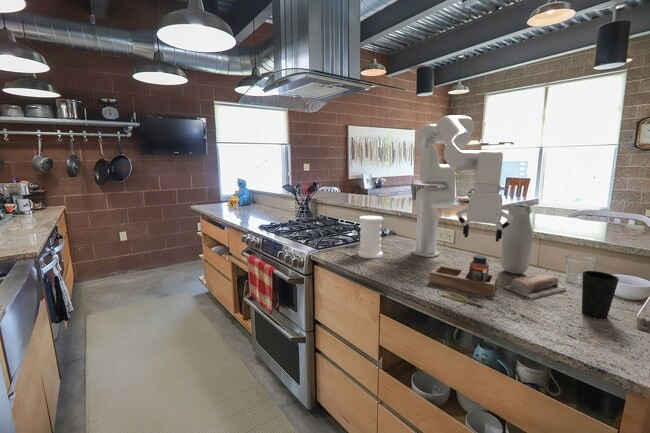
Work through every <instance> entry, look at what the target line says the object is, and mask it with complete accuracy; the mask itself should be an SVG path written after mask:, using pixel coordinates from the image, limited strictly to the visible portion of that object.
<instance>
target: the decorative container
mask: <svg viewBox="0 0 650 433" xmlns="http://www.w3.org/2000/svg"><path fill="white" fill-rule="evenodd" d="M359 221H360V224H359V226H360V227H359V228H360V232H359V234H360V238H359V242H360V243H359V250H358V251H357V255H358V256H359V257H361V258H364V259H379V258H382V257H383V255H384V254H383V253H384V252H383V251H382V250H381V249H382V244H381V242H382V233H383V231H382V227H383V224H382V222H383V221H384V217H383V216H381V215H360V216H359Z"/></svg>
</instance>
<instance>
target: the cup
mask: <svg viewBox="0 0 650 433" xmlns="http://www.w3.org/2000/svg"><path fill="white" fill-rule="evenodd" d="M619 281H620V279H619V277H618V276H616V275H613V274H610V273H608V272H607V273H606V272H602V271H596V270H595V271H594V270H586V271H583V272H582V290H581V291H582V293H581V313H583V314H584V315H583V314H582V315H583V316H585V315H586V316H585V317H587V316H589V317H588V318H590V317H592V318H591V319H593V318H596V319H595V320H597V319H606V320H607V319H608V316H609V313H610V309H611V306H612V302H613V300H614V296H615V293H616V290H617V286H618V284H619Z"/></svg>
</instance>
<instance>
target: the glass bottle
mask: <svg viewBox="0 0 650 433" xmlns="http://www.w3.org/2000/svg"><path fill="white" fill-rule="evenodd" d="M531 211H532V209H531V206H530V205H529V204H527V203H525V202H513V203H511V204H510V205H509V207H508V213H507V214H508V215H510V216H512V217H513V220H512V222H511V223H510V224H509V225H508V226H507V227H506V228H504V229H503V230H502V237H501V247H500V248H501V251H500V265H501V268H502V269H503V270H504V271H505V272H507V273H508V274H509V273H510V274H513V275H521V274H524V273H525V272H527V270H528V269H529V267H530V261H531V255H532V248H533V247H532V246H533V238H534V234H533V233H534V232H533V227H532V223H531V216H530V215H531V213H532V212H531Z"/></svg>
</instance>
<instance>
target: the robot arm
mask: <svg viewBox="0 0 650 433" xmlns="http://www.w3.org/2000/svg"><path fill="white" fill-rule="evenodd" d="M474 130H475V122H474V120H473V119H472V117H470V116H468V115H467V116H466V115H445V116H442V117H441V118H439V119H438V120H437V122H436V123H427V124H426V123H425V124H424V125H421V126H420V127H419V128H418V130H417V132H416V146H417V149H418V154H419V167H418V168H419V181H420V182H421V184H423V185H429V186H430V185H431V186H432V185H434V186H435V185H437V186H438V185H441V187H422V188H420V189H419V190H417V192H416V194H415V201H416V213H417V214H416V231H415V248H413V249H411V253H412V254H413V255H415V256H418V257H425V258H434V257H438V256H440V254H441V253H440V251H439V250H438V249H437V244H438V230H439V229H438V228H439V216H438V214H437V213H436V211H435V209H439V208H440V209H445V208H446V209H447V208H448V209H449V208H451V207H452V206H454V204H455V200H456V173H475V175H474V185H473V191H471V193H470V197H469V200H468V207H467V208H465V209H462V210H459V211H457V212H456V213H455V214H456V217H457V218H458V221H459V222H460V224H462V226H463V227H462V228H463V230H462V235H464V238H468V237H469V234H470V233H469V231H470V225H469V223H471V222H475V223H483V224H491V225H492V224H493V225H495V226H496V227H497V229H496V232H495V233H496V235H495V242H496V243H498V242H500V240H502V234H503V230H504V228H506V227H507V226H508V225H509V224H510V223H511V222H512V220H513V217H512V216H510V215H509V214H508V213H507V212H504V211H503V194H502V193H500V192H501V191H505V185H504V186H503V185H502V184H501V178H502V177H501V176H502V169H503V159H504V154H503V151H500V150H476V149H475V150H474V149H468V150H467V149H465V148H466V147H467V146H468V145H469V143H470V140H471V135H472V133H473V132H474ZM433 144H439V145H441V144H443V145H445V146H444V149H443V157H444V161H445V162H446V164H445V163H440V162H439V161H440V160H439V158H440V154H439V151H438V150H437V148H436V147H435V145H433ZM463 149H464V150H463ZM463 214H466V219H465V218H464V217H463ZM502 217H503V218H505V219H506V221H505V222H504V223H501V219H502Z"/></svg>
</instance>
